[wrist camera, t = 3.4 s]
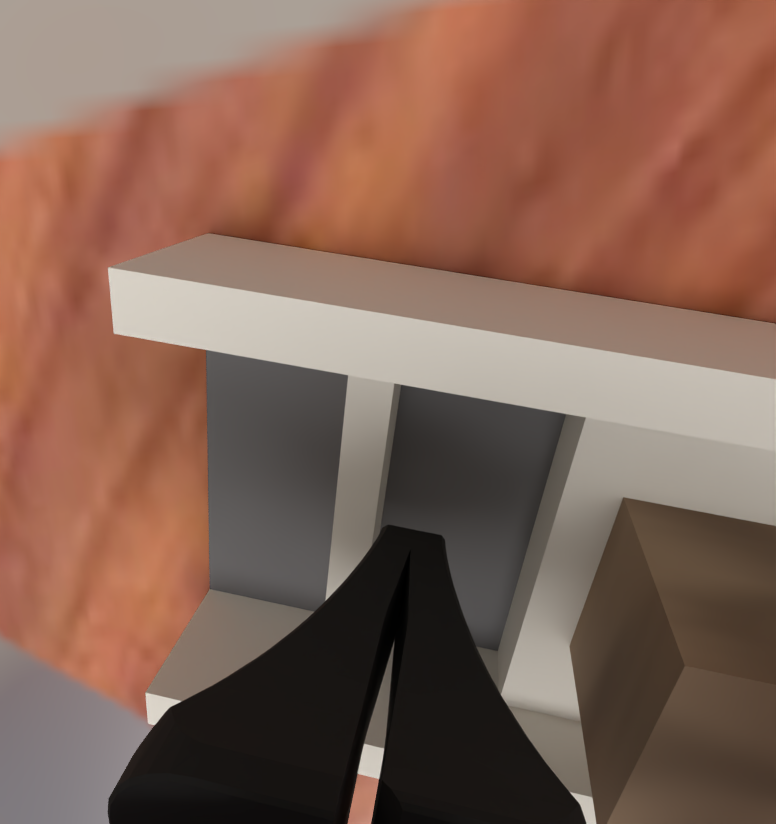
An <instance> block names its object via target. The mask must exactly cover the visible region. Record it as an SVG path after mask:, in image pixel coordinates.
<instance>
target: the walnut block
mask: <svg viewBox="0 0 776 824" xmlns="http://www.w3.org/2000/svg"><path fill="white" fill-rule="evenodd" d="M569 647H570V654H571V660H572V667H573V674H574V680H575V687H576V693H577V700H578V706H579V713H580V719H581V726H582V732H583V739H584V745H585V752H586V759H587V765H588V772H589V778H590V785H591V791H592V798H593V804H594V811H595V817H596V824H776V526H774V525H768V524H763V523H758V522H752V521H747V520H742V519H736V518H731V517H726V516H721V515H715V514H710V513H705V512H699V511H694V510H689V509H683V508H678V507H673V506H668V505H662V504H657V503H652V502H646V501H641V500H636V499H631V498H625V497H623V499H622V502H621V505H620V508H619V510H618V513H617V516H616V519H615V521H614V524H613V527H612V530H611V532H610V535H609V538H608V541H607V544H606V546H605V549H604V552H603V555H602V557H601V560H600V563H599V566H598V568H597V571H596V574H595V577H594V579H593V582H592V585H591V588H590V590H589V593H588V596H587V599H586V601H585V604H584V607H583V610H582V612H581V615H580V618H579V621H578V623H577V626H576V629H575V632H574V635H573V637H572V640H571V643H570V646H569Z"/></svg>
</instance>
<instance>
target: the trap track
mask: <svg viewBox="0 0 776 824" xmlns="http://www.w3.org/2000/svg"><path fill="white" fill-rule="evenodd" d="M108 273H109V284H110V296H111V307H112V318H113V330H114V334H119V335H125V336H131V337H136V338H142V339H148V340H153V341H159V342H164V343H170V344H176V345H181V346H187V347H192V348H198V349H204V350H206V371H207V437H208V503H209V569H210V590H209V591H208V593H207V594H206V596H205V598H204V599H203V601H202V602H201V604H200V606H199V607H198V609H197V610H196V612H195V614H194V615H193V617H192V619H191V620H190V622H189V623H188V625H187V627H186V628H185V630H184V631H183V633H182V635H181V636H180V638H179V639H178V641H177V643H176V644H175V646H174V647H173V649H172V651H171V652H170V654H169V656H168V657H167V659H166V660H165V662H164V664H163V665H162V667H161V668H160V670H159V672H158V673H157V675H156V676H155V678H154V680H153V681H152V683H151V684H150V686H149V688H148V689H147V691H146V704H147V716H148V724H152V725H155V724H156V723H157V722H158V721H159V719H160V718H161V717H162V716H163V714H164V713H165V712H166V711H167V710H168V709H169V707H171V706H173V705H176V704H178V703H180V702H181V701H183V700H185V699H187V698H189V697H191V696H193V695H195V694H197V693H199V692H201V691H202V690H204V689H206V688H208V687H210V686H212V685H214V684H216V683H217V682H219V681H221V680H222V679H224V678H226V677H227V676H229V675H230V674H232V673H234V672H235V671H237V670H238V669H240V668H241V667H243V666H245V665H246V664H248V663H249V662H251V661H252V660H254V659H256V658H257V657H259V656H260V655H261V654H263V653H264V652H266V651H267V650H268V649H270V648H271V647H272V646H274V645H275V644H276V643H278V642H279V641H280V640H281V639H283V638H284V637H285V636H287V635H288V634H289V633H290V632H292V631H293V630H294V629H295V628H297V627H298V626H299V625H300V624H301V623H302V622H303V621H305V620H306V619H307V618H308V617H309V616H310V615H311V614H312V613H314V612H315V611H316V610H317V609H318V608H319V607H320V606H321V605H322V604H323V603H324V602H325V601H326V600H327V599H328V598H329V597H330V596H331V595H332V593H333V592H334V591H335V590H336V589H337V588H338V587H339V586H340V585H341V584H342V583H343V582H344V581H345V580H346V578H347V577H348V576H349V575H350V574H351V572H352V571H353V570H354V569H355V567H356V566H357V565H358V564H359V563H360V561H361V560H362V559H363V557H364V556H365V555H366V553H367V552H368V551H369V549H370V548H371V546H372V545H373V543H374V542H375V540H376V539H377V537H378V535H379V534H380V532H381V530H382V528H383V527H384V526H386V525H388V524H389V525H394V526H399V527H404V528H409V529H414V530H419V531H424V532H429V533H434V534H439V535H442V536H443V538H444V539H445V544H446V553H447V559H448V564H449V569H450V573H451V577H452V581H453V584H454V588H455V591H456V594H457V597H458V600H459V603H460V606H461V609H462V612H463V615H464V618H465V620H466V623H467V625H468V628H469V630H470V633H471V635H472V638H473V640H474V642H475V645H476V647H477V649H478V651H479V654H480V656H481V658H482V660H483V662H484V664H485V666H486V668H487V670H488V672H489V674H490V676H491V678H492V679H493V681H494V683H495V685H496V687H497V688H498V690H499V692H500V694H501V696H502V697H503V699H504V701H505V702H506V704H507V705H508V707H509V709H510V710H511V712H512V713H513V715H514V716H515V718H516V720H517V721H518V723H519V724H520V726H521V727H522V729H523V731H524V732H525V734H526V735H527V737H528V738H529V740H530V741H531V742H532V744H533V745H534V747H535V748H536V749H537V751H538V752H539V754H540V755H541V756H542V758H543V759H544V761H545V762H546V763H547V765H548V766H549V767H550V768H551V770H552V771H553V772H554V773H555V775H556V776H557V777H558V778H559V780H560V781H561V782H562V783H563V784H564V786H565V787H566V788H567V789H568V790H569V792H570V793H571V794H572V795H573V797H574V798H575V799H576V800H577V801H578V803H579V804H580V805H581V808H582V811H583V814H584V817H585V820H586V824H596V817H595V811H594V804H593V798H592V791H591V785H590V778H589V772H588V765H587V759H586V752H585V745H584V739H583V732H582V726H581V719H580V713H579V706H578V700H577V693H576V687H575V680H574V674H573V667H572V660H571V654H570V647H569V646H570V643H571V640H572V637H573V635H574V632H575V629H576V626H577V623H578V621H579V618H580V615H581V612H582V610H583V607H584V604H585V601H586V599H587V596H588V593H589V590H590V588H591V585H592V582H593V579H594V577H595V574H596V571H597V568H598V566H599V563H600V560H601V557H602V555H603V552H604V549H605V546H606V544H607V541H608V538H609V535H610V532H611V530H612V527H613V524H614V521H615V519H616V516H617V513H618V510H619V508H620V505H621V502H622V499H623V497H625V498H631V499H636V500H641V501H646V502H652V503H657V504H662V505H668V506H673V507H678V508H683V509H689V510H694V511H699V512H705V513H710V514H715V515H721V516H726V517H731V518H736V519H742V520H747V521H752V522H758V523H763V524H768V525H774V526H776V324H775V323H769V322H763V321H757V320H750V319H744V318H738V317H731V316H725V315H719V314H713V313H706V312H700V311H694V310H687V309H681V308H675V307H669V306H662V305H656V304H650V303H644V302H637V301H631V300H625V299H618V298H612V297H606V296H600V295H593V294H587V293H581V292H574V291H568V290H562V289H556V288H549V287H543V286H537V285H531V284H524V283H518V282H512V281H505V280H499V279H493V278H487V277H480V276H474V275H468V274H461V273H455V272H449V271H443V270H436V269H430V268H424V267H418V266H411V265H405V264H399V263H392V262H386V261H380V260H374V259H367V258H361V257H355V256H348V255H342V254H336V253H330V252H323V251H317V250H311V249H305V248H298V247H292V246H286V245H279V244H273V243H267V242H261V241H254V240H248V239H242V238H236V237H229V236H223V235H217V234H210V233H207V234H204V235H201V236H198V237H195V238H193V239H190V240H187V241H184V242H181V243H178V244H175V245H172V246H169V247H166V248H163V249H160V250H158V251H155V252H152V253H149V254H146V255H143V256H140V257H137V258H134V259H131V260H128V261H125V262H123V263H120V264H117V265H114V266H111V267H108ZM393 650H394V643H393V647H392V650H391V653H390V657H389V660H388V664H387V667H386V670H385V674H384V677H383V680H382V684H381V687H380V690H379V694H378V697H377V700H376V704H375V707H374V711H373V714H372V717H371V721H370V724H369V727H368V731H367V734H366V738H365V742H364V746H363V750H362V754H361V759H360V764H359V769H358V774H361V775H365V776H369V777H373V778H378V779H379V777H380V771H381V766H382V760H383V754H384V746H385V738H386V728H387V717H388V706H389V695H390V683H391V672H392V661H393Z"/></svg>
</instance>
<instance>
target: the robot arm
mask: <svg viewBox="0 0 776 824" xmlns="http://www.w3.org/2000/svg"><path fill="white" fill-rule="evenodd" d="M393 643H394V650H393V661H392V672H391V683H390V695H389V706H388V717H387V728H386V738H385V746H384V754H383V760H382V766H381V771H380V777H379V783H378V788H377V794H376V800H375V805H374V811H373V817H372V822H371V824H586V820H585V817H584V814H583V811H582V808H581V805H580V804H579V803H578V801H577V800H576V799H575V798H574V797H573V795H572V794H571V793H570V792H569V790H568V789H567V788H566V787H565V786H564V784H563V783H562V782H561V781H560V780H559V778H558V777H557V776H556V775H555V773H554V772H553V771H552V770H551V768H550V767H549V766H548V765H547V763H546V762H545V761H544V759H543V758H542V756H541V755H540V754H539V752H538V751H537V749H536V748H535V747H534V745H533V744H532V742H531V741H530V740H529V738H528V737H527V735H526V734H525V732H524V731H523V729H522V727H521V726H520V724H519V723H518V721H517V720H516V718H515V716H514V715H513V713H512V712H511V710H510V709H509V707H508V705H507V704H506V702H505V701H504V699H503V697H502V696H501V694H500V692H499V690H498V688H497V687H496V685H495V683H494V681H493V679H492V678H491V676H490V674H489V672H488V670H487V668H486V666H485V664H484V662H483V660H482V658H481V656H480V654H479V651H478V649H477V647H476V645H475V642H474V640H473V638H472V635H471V633H470V630H469V628H468V625H467V623H466V620H465V618H464V615H463V612H462V609H461V606H460V603H459V600H458V597H457V594H456V591H455V588H454V584H453V581H452V577H451V573H450V569H449V564H448V559H447V553H446V544H445V539H444V538H443V536H442V535H439V534H434V533H429V532H424V531H419V530H414V529H409V528H404V527H399V526H394V525H389V524H388V525H386V526H384V527H383V528H382V530H381V532H380V534H379V535H378V537H377V539H376V540H375V542H374V543H373V545H372V546H371V548H370V549H369V551H368V552H367V553H366V555H365V556H364V557H363V559H362V560H361V561H360V563H359V564H358V565H357V566H356V567H355V569H354V570H353V571H352V572H351V574H350V575H349V576H348V577H347V578H346V580H345V581H344V582H343V583H342V584H341V585H340V586H339V587H338V588H337V589H336V590H335V591H334V592H333V593H332V595H331V596H330V597H329V598H328V599H327V600H326V601H325V602H324V603H323V604H322V605H321V606H320V607H319V608H318V609H317V610H316V611H315V612H314V613H312V614H311V615H310V616H309V617H308V618H307V619H306V620H305V621H303V622H302V623H301V624H300V625H299V626H298V627H297V628H295V629H294V630H293V631H292V632H290V633H289V634H288V635H287V636H285V637H284V638H283V639H281V640H280V641H279V642H278V643H276V644H275V645H274V646H272V647H271V648H270V649H268V650H267V651H266V652H264V653H263V654H261V655H260V656H259V657H257V658H256V659H254V660H252V661H251V662H249V663H248V664H246V665H245V666H243V667H241V668H240V669H238V670H237V671H235V672H234V673H232V674H230V675H229V676H227V677H226V678H224V679H222V680H221V681H219V682H217V683H216V684H214V685H212V686H210V687H208V688H206V689H204V690H202V691H201V692H199V693H197V694H195V695H193V696H191V697H189V698H187V699H185V700H183V701H181V702H180V703H178V704H176V705H173V706H171V707H169V709H168V710H167V711H166V712H165V713H164V714H163V716H162V717H161V718H160V719H159V721H158V722H157V723H156V724H155V726H154V727H153V728H152V730H151V731H150V732H149V734H148V735H147V736H146V738H145V739H144V741H143V742H142V743H141V744H140V746H139V747H138V749H137V750H136V752H135V753H134V755H133V757H132V758H131V760H130V762H129V764H128V766H127V767H126V769H125V771H124V773H123V774H122V776H121V778H120V780H119V782H118V783H117V785H116V787H115V788H114V790H113V792H112V794H111V796H110V797H109V802H108V817H109V823H110V824H347V823H348V818H349V813H350V808H351V803H352V798H353V793H354V789H355V784H356V779H357V774H358V769H359V764H360V759H361V754H362V750H363V746H364V742H365V738H366V734H367V731H368V727H369V724H370V721H371V717H372V714H373V711H374V707H375V704H376V700H377V697H378V694H379V690H380V687H381V684H382V680H383V677H384V674H385V670H386V667H387V664H388V660H389V657H390V653H391V650H392V647H393Z"/></svg>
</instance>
